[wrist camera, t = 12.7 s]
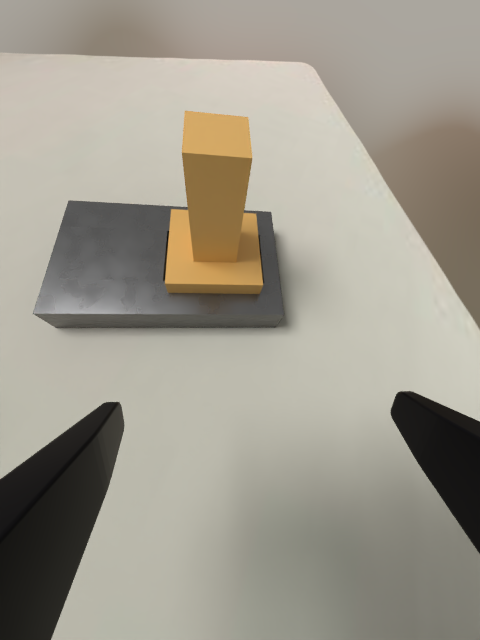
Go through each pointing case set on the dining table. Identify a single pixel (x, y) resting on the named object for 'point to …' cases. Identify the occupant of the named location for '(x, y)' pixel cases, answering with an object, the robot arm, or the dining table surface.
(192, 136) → the orange post
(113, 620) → the dining table surface
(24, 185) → the dining table surface
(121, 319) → the grey metal plate
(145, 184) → the dining table surface
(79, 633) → the dining table surface
